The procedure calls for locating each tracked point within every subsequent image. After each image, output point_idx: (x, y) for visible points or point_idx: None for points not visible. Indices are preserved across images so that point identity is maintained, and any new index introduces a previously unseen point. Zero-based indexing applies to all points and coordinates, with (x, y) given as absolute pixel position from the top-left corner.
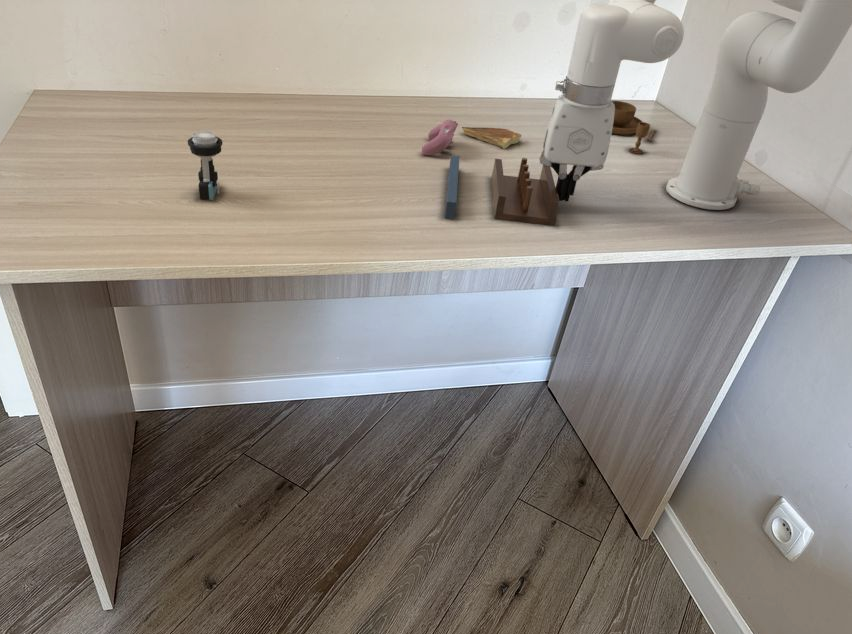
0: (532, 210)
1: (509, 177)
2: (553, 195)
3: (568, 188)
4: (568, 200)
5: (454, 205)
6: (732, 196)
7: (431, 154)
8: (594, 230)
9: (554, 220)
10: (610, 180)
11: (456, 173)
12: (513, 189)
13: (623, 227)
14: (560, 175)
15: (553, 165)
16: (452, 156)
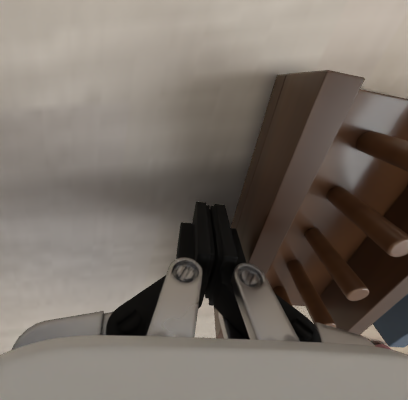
0: (337, 144)
1: (294, 300)
2: (310, 161)
3: (208, 231)
4: (197, 202)
5: None
6: None
7: (379, 346)
8: (126, 41)
9: (286, 74)
10: (66, 313)
11: None
12: (316, 258)
13: (9, 81)
14: (256, 279)
15: (311, 329)
16: (406, 344)
